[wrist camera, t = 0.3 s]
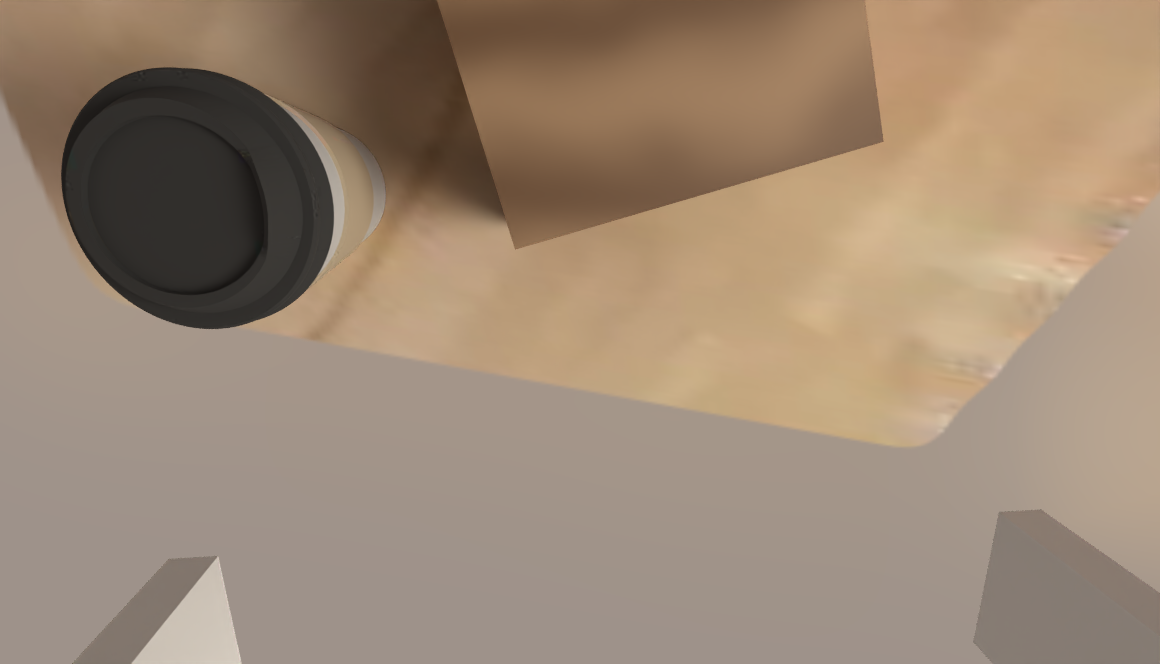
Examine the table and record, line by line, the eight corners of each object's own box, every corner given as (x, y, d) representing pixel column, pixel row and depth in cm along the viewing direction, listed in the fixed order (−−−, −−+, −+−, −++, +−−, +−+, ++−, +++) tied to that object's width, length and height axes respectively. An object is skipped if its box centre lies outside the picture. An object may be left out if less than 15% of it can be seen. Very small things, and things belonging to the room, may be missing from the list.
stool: (428, -81, 31) (376, -193, 21) (732, -173, 30) (820, -329, 21) (522, 225, 35) (515, 249, 25) (788, 147, 35) (883, 141, 25)
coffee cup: (256, 272, 35) (55, 350, 20) (226, 106, 32) (-28, 59, 18) (414, 265, 35) (327, 336, 21) (397, 100, 33) (283, 51, 18)
